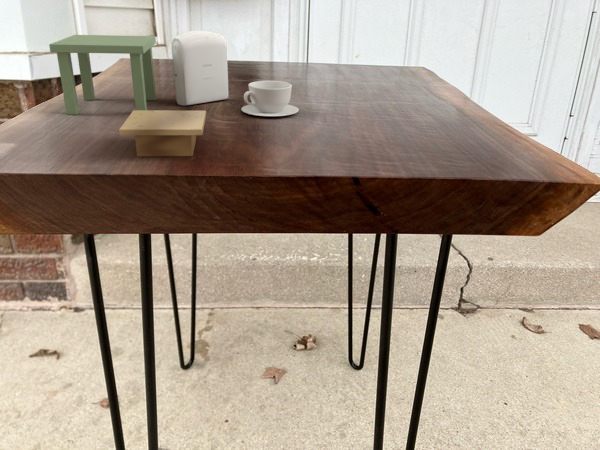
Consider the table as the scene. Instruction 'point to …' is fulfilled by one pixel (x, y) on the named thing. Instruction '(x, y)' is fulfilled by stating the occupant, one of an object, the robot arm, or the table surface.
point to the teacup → (269, 99)
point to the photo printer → (200, 67)
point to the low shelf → (164, 131)
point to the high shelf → (105, 44)
